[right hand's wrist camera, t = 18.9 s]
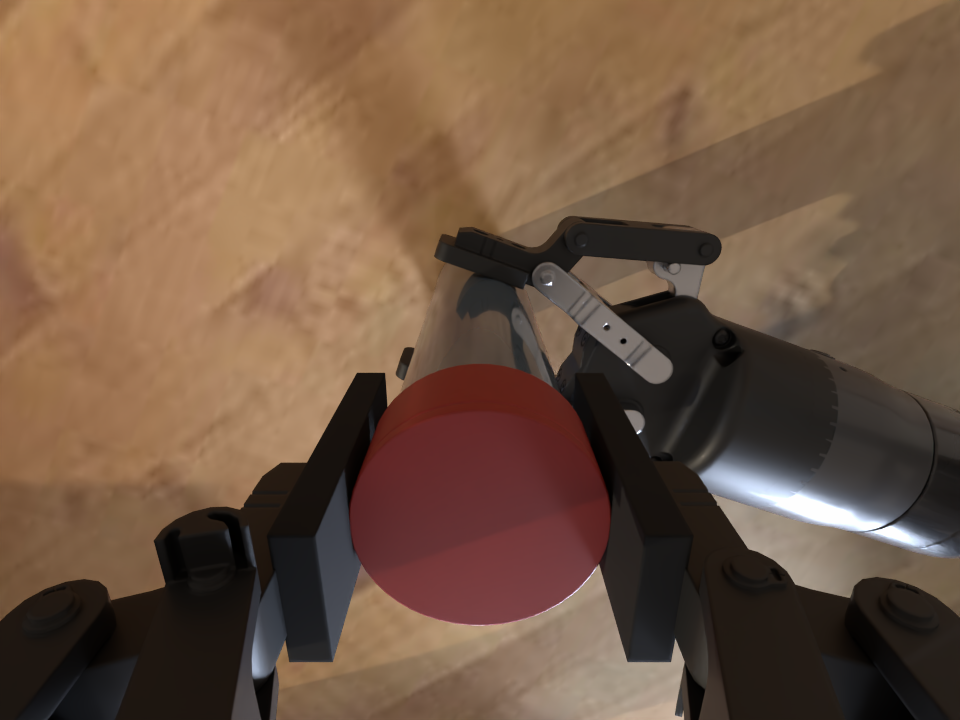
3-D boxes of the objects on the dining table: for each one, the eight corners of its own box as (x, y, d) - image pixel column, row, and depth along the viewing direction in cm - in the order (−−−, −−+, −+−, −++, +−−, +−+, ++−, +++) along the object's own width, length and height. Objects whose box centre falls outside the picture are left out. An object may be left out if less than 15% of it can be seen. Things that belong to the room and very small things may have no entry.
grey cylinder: (541, 282, 28) (638, 486, 11) (488, 347, 30) (499, 621, 12) (471, 228, 27) (455, 360, 10) (419, 299, 28) (326, 522, 11)
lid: (370, 544, 13) (349, 619, 11) (370, 354, 12) (346, 400, 9) (572, 556, 14) (590, 633, 11) (605, 370, 12) (634, 419, 10)
